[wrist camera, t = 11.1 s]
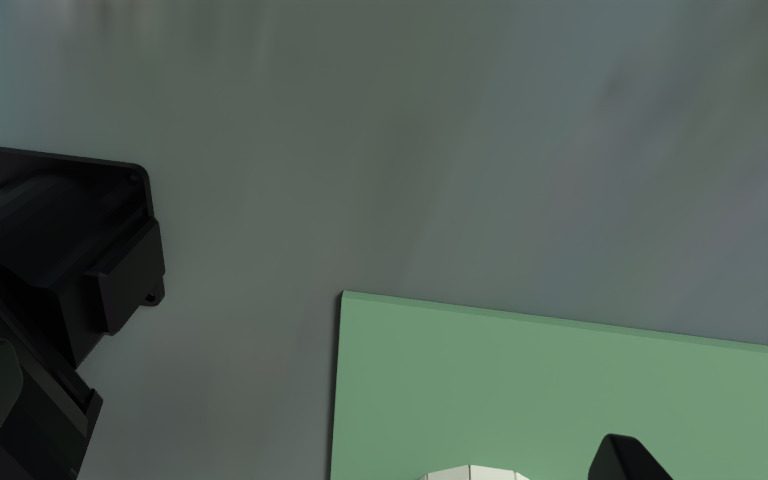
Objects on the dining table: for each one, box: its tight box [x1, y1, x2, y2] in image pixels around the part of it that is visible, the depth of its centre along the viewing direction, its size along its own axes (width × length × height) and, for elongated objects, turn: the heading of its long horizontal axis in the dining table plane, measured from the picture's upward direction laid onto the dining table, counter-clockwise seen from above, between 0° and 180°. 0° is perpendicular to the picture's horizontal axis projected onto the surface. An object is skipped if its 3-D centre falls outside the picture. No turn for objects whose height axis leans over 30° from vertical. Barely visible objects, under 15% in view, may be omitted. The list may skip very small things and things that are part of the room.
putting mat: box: [330, 290, 768, 480], centre depth 28 cm, size 22×19×1 cm
